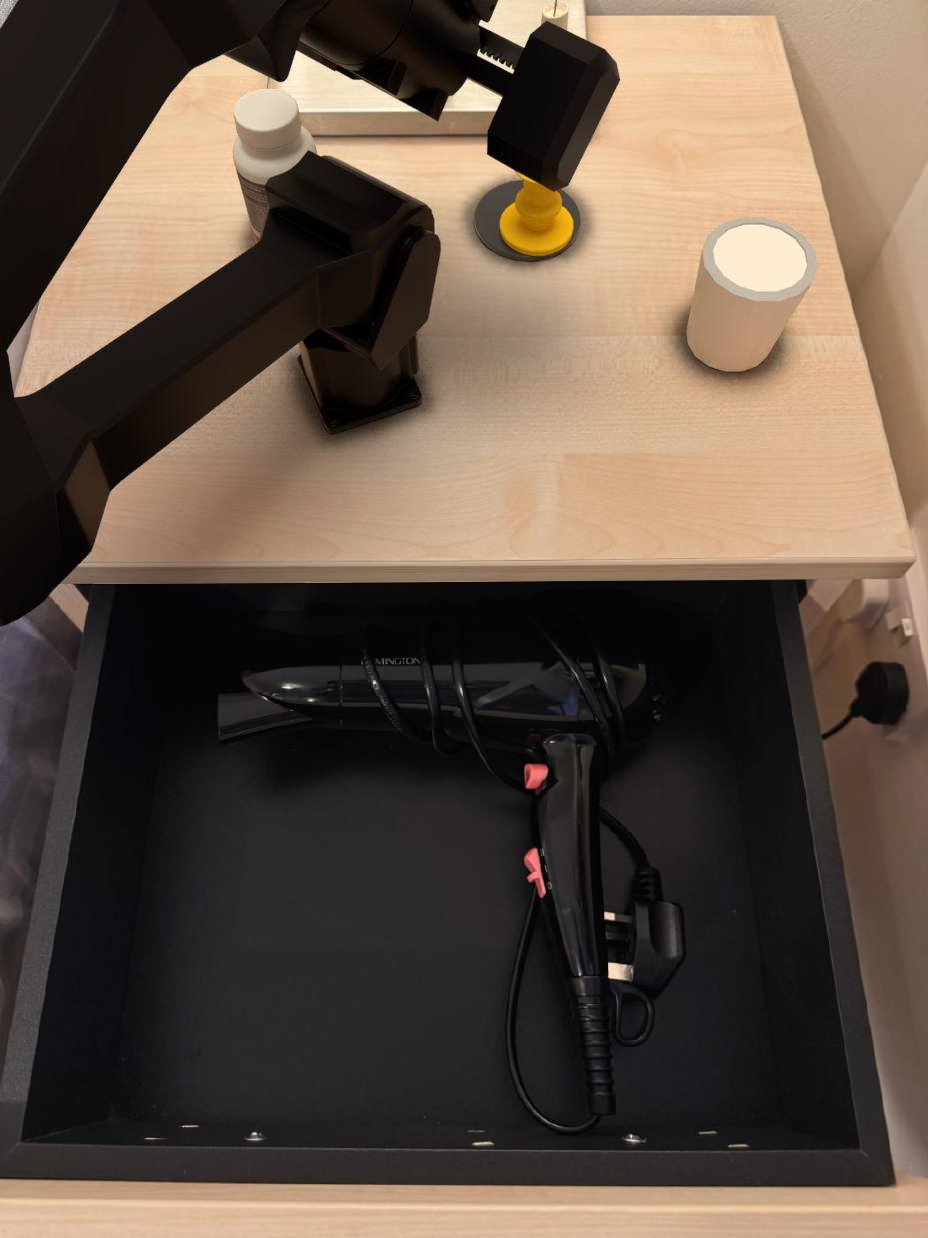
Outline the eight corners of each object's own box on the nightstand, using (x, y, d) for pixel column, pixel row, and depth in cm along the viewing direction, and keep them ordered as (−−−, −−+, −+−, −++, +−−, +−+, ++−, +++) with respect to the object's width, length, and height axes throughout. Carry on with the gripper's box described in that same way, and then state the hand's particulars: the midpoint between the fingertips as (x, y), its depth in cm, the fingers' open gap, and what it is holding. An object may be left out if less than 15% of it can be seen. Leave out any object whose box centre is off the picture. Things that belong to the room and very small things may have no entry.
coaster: (499, 273, 61) (499, 268, 61) (458, 201, 64) (458, 196, 64) (597, 242, 62) (598, 237, 62) (552, 172, 65) (553, 168, 65)
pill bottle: (311, 273, 61) (285, 147, 52) (242, 253, 62) (204, 125, 53) (343, 221, 63) (323, 90, 54) (275, 202, 64) (245, 70, 55)
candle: (495, 252, 61) (504, 23, 47) (503, 199, 63) (514, -35, 49) (569, 259, 61) (601, 31, 47) (575, 206, 63) (607, -28, 49)
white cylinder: (777, 387, 57) (816, 308, 51) (671, 370, 58) (697, 290, 51) (783, 307, 60) (820, 223, 53) (682, 292, 60) (707, 207, 54)
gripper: (634, -152, 32) (715, 14, 46) (266, -304, 37) (438, -113, 51) (495, 156, 37) (606, 223, 51) (185, -15, 42) (362, 89, 55)
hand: (502, 99), depth 52 cm, fingers open, 9 cm apart
